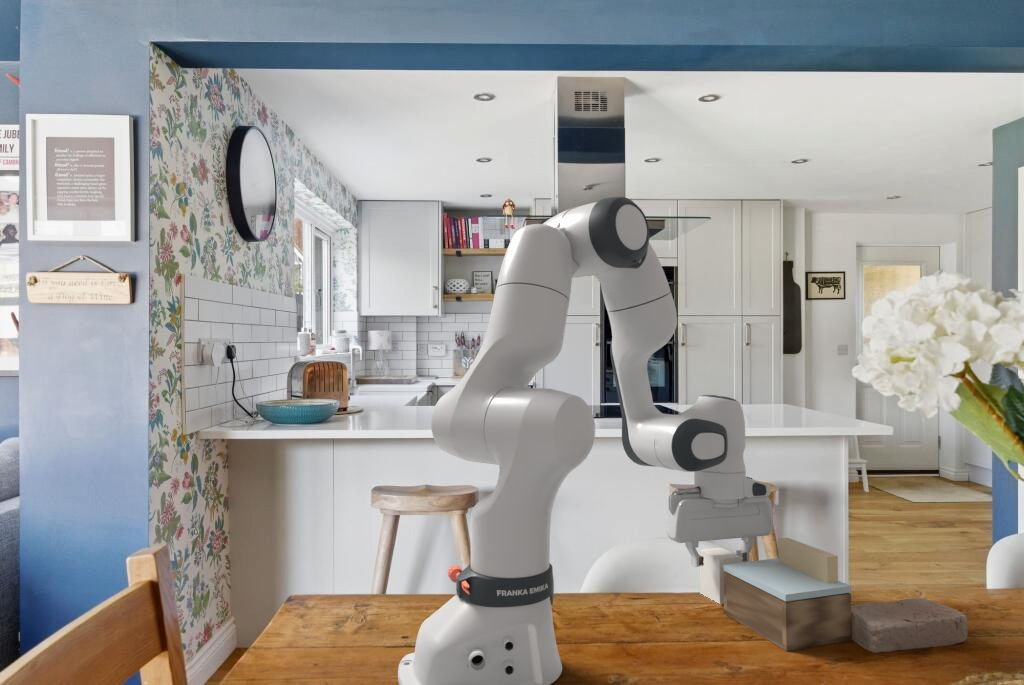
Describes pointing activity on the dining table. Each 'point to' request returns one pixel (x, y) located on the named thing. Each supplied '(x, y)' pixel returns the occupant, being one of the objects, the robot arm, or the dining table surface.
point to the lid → (793, 572)
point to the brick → (906, 625)
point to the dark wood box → (788, 615)
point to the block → (715, 572)
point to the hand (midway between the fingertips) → (720, 563)
